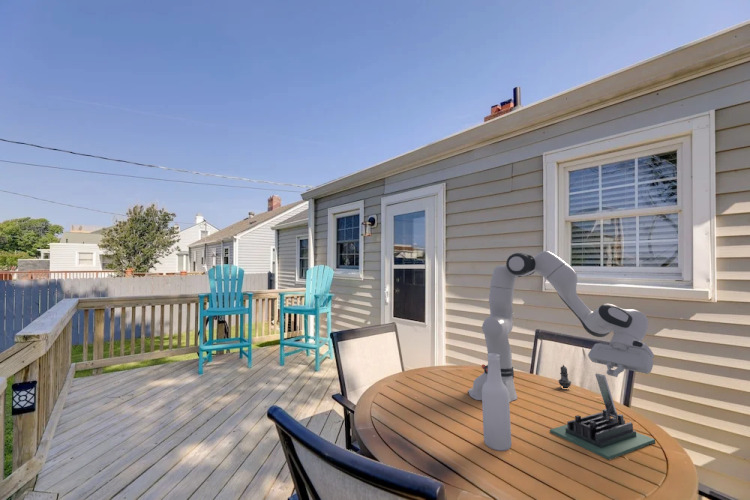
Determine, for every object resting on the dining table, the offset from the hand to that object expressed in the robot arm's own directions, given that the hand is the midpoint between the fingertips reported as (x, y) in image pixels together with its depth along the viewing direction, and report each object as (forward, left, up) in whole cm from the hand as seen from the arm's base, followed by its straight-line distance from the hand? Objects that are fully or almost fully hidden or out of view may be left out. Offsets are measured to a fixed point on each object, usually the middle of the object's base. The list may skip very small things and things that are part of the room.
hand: (611, 375), depth 117 cm
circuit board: (-8, -5, -20) cm, 22 cm away
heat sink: (-8, -5, -20) cm, 22 cm away
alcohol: (-46, -14, -20) cm, 52 cm away
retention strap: (-4, -2, -7) cm, 8 cm away
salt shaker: (+5, +48, -20) cm, 53 cm away
